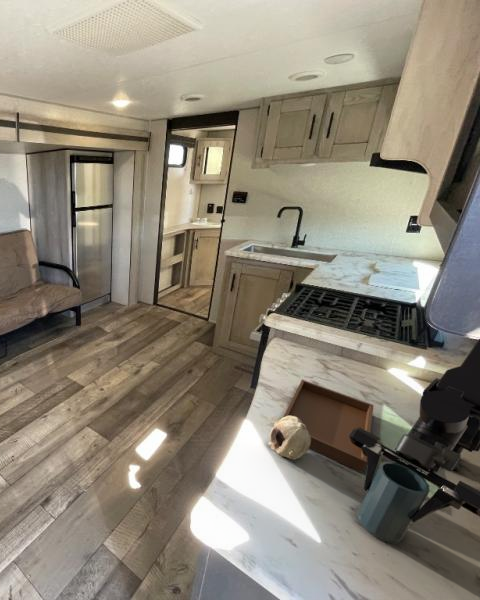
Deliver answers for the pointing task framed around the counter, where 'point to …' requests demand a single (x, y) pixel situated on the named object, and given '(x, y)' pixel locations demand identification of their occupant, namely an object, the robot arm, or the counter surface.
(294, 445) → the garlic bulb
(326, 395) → the tray
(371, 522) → the tumbler
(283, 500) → the counter surface
